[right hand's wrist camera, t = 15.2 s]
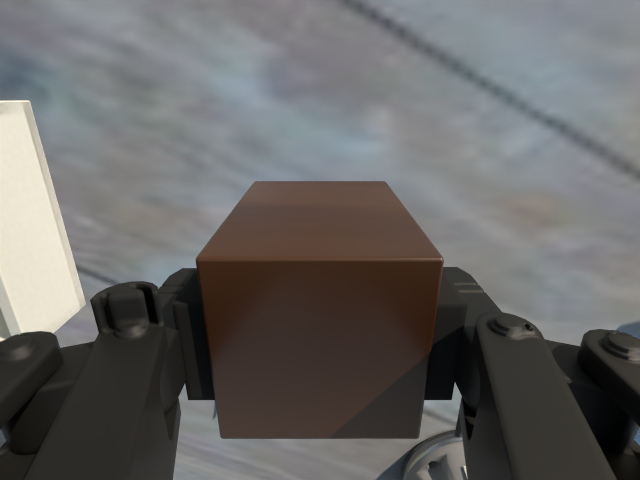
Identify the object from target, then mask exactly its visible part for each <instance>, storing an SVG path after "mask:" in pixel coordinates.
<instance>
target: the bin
mask: <svg viewBox="0 0 640 480" xmlns="http://www.w3.org/2000/svg"><path fill="white" fill-rule="evenodd" d="M85 305H86V302H85V299H84V295H83V292H82V288H81V285H80V281H79V277H78V274H77V270H76V266H75V263H74V259H73V256H72V252H71V248H70V245H69V241H68V238H67V234H66V230H65V227H64V223H63V220H62V216H61V212H60V209H59V205H58V202H57V198H56V194H55V191H54V187H53V184H52V180H51V176H50V173H49V169H48V166H47V162H46V158H45V155H44V151H43V147H42V144H41V140H40V137H39V133H38V129H37V126H36V122H35V119H34V115H33V111H32V108H31V104H30V101H0V341H3V340H5V339H7V338H9V337H11V336H13V335H17V334H20V333H25V332H35V331H46V332H51V333H54V332H55V331H56V330H58V329H59V328H60V327H61V326H62V325H63V324H64V323H65V322H67V321H68V320H69V319H70V318H71V317H72V316H73V315H75V314H76V313H77V312H78V311H79V310H80V309H81V308H83V307H84V306H85Z"/></svg>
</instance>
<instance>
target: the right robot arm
mask: <svg viewBox="0 0 640 480" xmlns="http://www.w3.org/2000/svg"><path fill="white" fill-rule="evenodd" d="M90 301H91V305H92V309H93V312H94V316H95V320H96V324H97V327H98V331H99V334H98V336H97V338H96V340H95V341H94V342H89V343H84V344H79V345H74V346H69V347H63V348H60V346H59V343H58V340H57V337H56V336H55V335H54V334H53V333H51V332H46V331H35V332H25V333H20V334H17V335H13V336H11V337H9V338H7V339H5V340H3V341H0V429H1V430H2V432H3V434H4V436H5V439H6V442H5V443H4V444H3V446H2V447H1V448H0V480H173V473H174V465H175V457H176V449H177V441H178V433H179V425H180V416H181V410H180V404H179V399H178V397H179V394H180V392H181V390H182V388H183V386H184V384H186V390H187V396H188V400H215V394H214V387H213V380H212V373H211V366H210V359H209V352H208V344H207V337H206V330H205V323H204V316H203V309H202V302H201V294H200V287H199V280H198V273H197V268H182V269H181V270H179V271H177V272H176V273H174V274H172V275H170V276H169V277H168V279H167V280H166V281H165V282H164V283H163V285H162V287H160V288H159V289H158V287H157V286H156V285H154V284H153V283H149V282H144V281H138V282H127V283H122V284H118V285H115V286H112V287H109V288H106V289H104V290H103V291H101V292H99V293H97V294H96V295H95V296H94V297H93V298H92V299H91V300H90ZM454 383H456V385H457V387H458V389H459V391H460V393H461V395H462V399H461V404H460V409H459V415H458V420H457V425H456V430H453V431H448V432H444V433H441V434H438V435H435V436H433V437H431V438H429V439H427V440H425V441H424V442H422V443H421V444H419V445H418V446H417V447H416V448H415V449H413V451H412V452H411V453H410V454H409V455H408V456H407V458H406V460H405V462H404V464H403V467H402V471H401V480H640V446H639V445H638V444H637V443H636V441H635V440H634V438H635V436H636V433H637V431H638V429H639V427H640V340H639V339H637V338H635V337H633V336H631V335H629V334H626V333H623V332H622V333H620V332H619V331H614V330H603V329H597V330H589V331H588V332H587V333H585V334H584V336H583V339H582V342H581V345H580V346H575V345H570V344H564V343H559V342H554V341H549V340H545V339H544V338H543V336H542V334H541V332H540V331H539V330H538V329H537V327H536V326H535V325H533V324H532V323H530V322H529V321H527V320H525V319H523V318H520V317H518V316H515V315H512V314H508V313H503V312H501V310H500V309H499V308H498V307H497V306H496V304H495V303H494V302H493V301H492V300H491V299H490V297H489V296H488V295H487V294H486V293H484V290H483V289H482V288H481V287H480V286H479V285H478V283H477V282H476V281H475V280H474V279H473V277H472V276H471V275H470V274H468V273H466V272H465V271H463V270H461V269H460V268H458V267H443V270H442V277H441V285H440V292H439V299H438V306H437V313H436V320H435V327H434V334H433V341H432V348H431V355H430V363H429V370H428V377H427V384H426V391H425V398H424V400H452V394H453V388H454Z"/></svg>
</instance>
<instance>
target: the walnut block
mask: <svg viewBox="0 0 640 480" xmlns="http://www.w3.org/2000/svg"><path fill="white" fill-rule="evenodd" d="M443 263H444V259H443V257H442V256H441V254H440V253H439V252H438V250H437V249H436V248H435V246H434V245H433V244H432V242H431V241H430V240H429V238H428V237H427V236H426V234H425V233H424V232H423V231H422V229H421V228H420V227H419V225H418V224H417V223H416V221H415V220H414V219H413V217H412V216H411V215H410V213H409V212H408V211H407V209H406V208H405V207H404V205H403V204H402V203H401V201H400V200H399V199H398V197H397V196H396V195H395V194H394V192H393V191H392V190H391V188H390V187H389V186H388V184H387V183H386V182H384V181H256V182H254V183H253V184H252V186H251V187H250V188H249V190H248V191H247V192H246V194H245V195H244V196H243V198H242V199H241V200H240V201H239V203H238V204H237V205H236V207H235V208H234V209H233V211H232V212H231V213H230V214H229V216H228V217H227V218H226V220H225V221H224V222H223V224H222V225H221V226H220V227H219V229H218V230H217V231H216V233H215V234H214V235H213V237H212V238H211V239H210V241H209V242H208V243H207V244H206V246H205V247H204V248H203V250H202V251H201V252H200V254H199V255H198V256H197V258H196V266H197V273H198V280H199V287H200V294H201V302H202V309H203V316H204V323H205V330H206V337H207V344H208V352H209V359H210V366H211V373H212V380H213V387H214V394H215V402H216V409H217V416H218V423H219V430H220V437H221V438H223V439H417V438H419V434H420V426H421V419H422V412H423V405H424V398H425V391H426V384H427V377H428V370H429V363H430V355H431V348H432V341H433V334H434V327H435V320H436V313H437V306H438V299H439V292H440V285H441V277H442V270H443Z"/></svg>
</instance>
